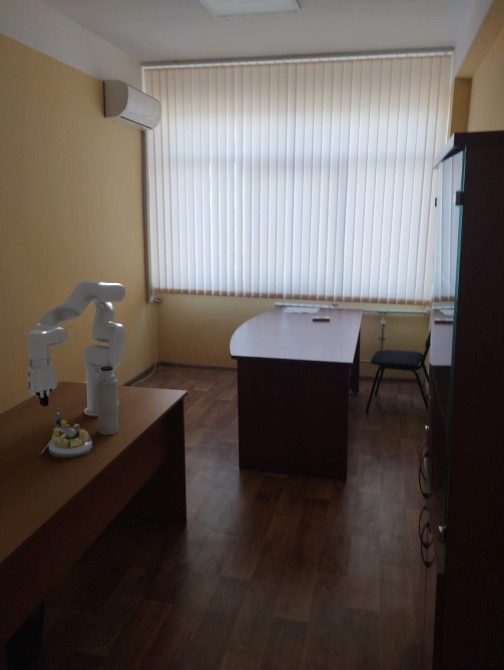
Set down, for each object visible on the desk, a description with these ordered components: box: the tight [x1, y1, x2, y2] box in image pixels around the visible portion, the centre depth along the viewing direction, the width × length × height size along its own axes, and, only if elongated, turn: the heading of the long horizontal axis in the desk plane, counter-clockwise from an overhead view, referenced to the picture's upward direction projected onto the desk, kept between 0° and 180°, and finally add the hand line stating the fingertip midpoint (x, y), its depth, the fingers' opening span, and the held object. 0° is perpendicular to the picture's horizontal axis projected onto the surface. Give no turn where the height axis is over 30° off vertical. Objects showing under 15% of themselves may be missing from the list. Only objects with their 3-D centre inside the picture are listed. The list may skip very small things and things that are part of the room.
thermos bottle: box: [97, 366, 120, 436], centre depth 223 cm, size 8×8×28 cm
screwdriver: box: [39, 419, 68, 456], centre depth 215 cm, size 3×3×30 cm
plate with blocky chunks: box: [48, 423, 93, 459], centre depth 208 cm, size 16×18×8 cm
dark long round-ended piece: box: [51, 411, 90, 448], centre depth 211 cm, size 23×13×6 cm, turn 37°
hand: (44, 405), depth 214 cm, fingers closed
